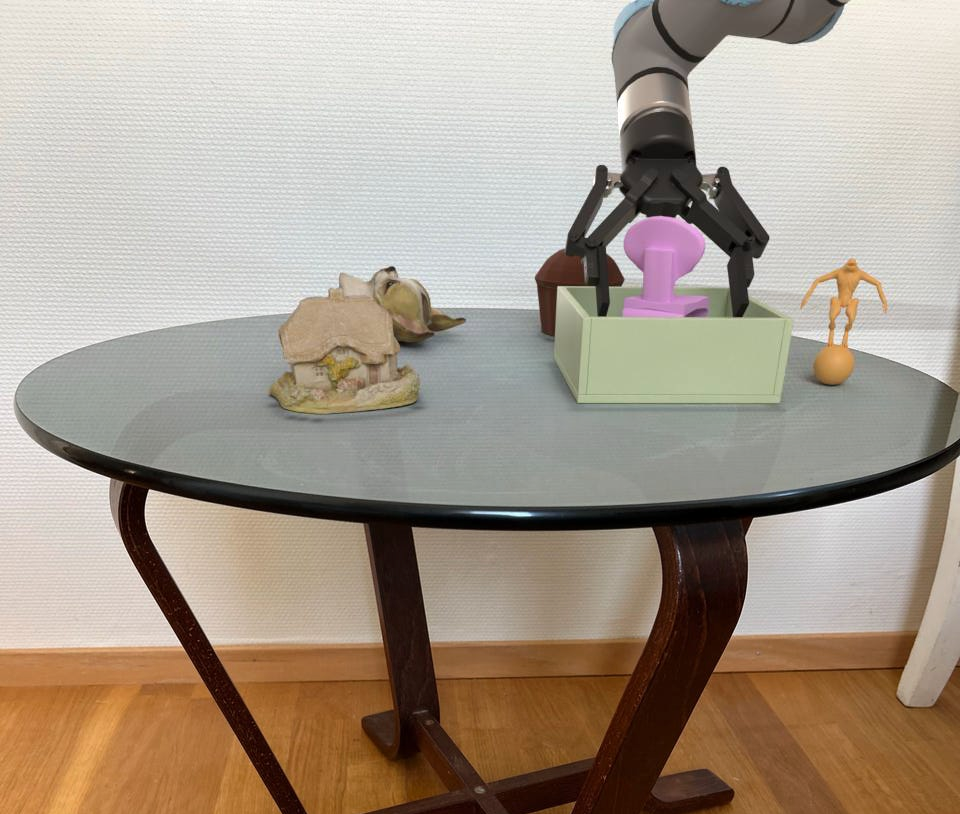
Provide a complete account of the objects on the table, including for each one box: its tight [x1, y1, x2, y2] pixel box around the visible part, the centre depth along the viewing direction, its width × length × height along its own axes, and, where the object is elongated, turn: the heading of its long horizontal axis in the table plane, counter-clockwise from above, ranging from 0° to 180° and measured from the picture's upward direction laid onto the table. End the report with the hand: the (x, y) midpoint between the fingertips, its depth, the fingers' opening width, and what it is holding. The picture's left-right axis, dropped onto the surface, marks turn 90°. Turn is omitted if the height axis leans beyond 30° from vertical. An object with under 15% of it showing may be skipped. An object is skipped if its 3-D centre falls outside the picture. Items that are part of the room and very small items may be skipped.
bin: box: [553, 286, 795, 405], centre depth 96 cm, size 20×20×8 cm
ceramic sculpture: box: [338, 265, 467, 343], centre depth 112 cm, size 11×9×15 cm
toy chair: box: [622, 216, 709, 317], centre depth 93 cm, size 8×9×15 cm
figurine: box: [800, 257, 888, 386], centre depth 95 cm, size 8×6×12 cm
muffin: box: [534, 247, 625, 337], centre depth 118 cm, size 12×11×10 cm
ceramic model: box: [268, 286, 421, 415], centre depth 87 cm, size 14×11×10 cm
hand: (672, 312), depth 92 cm, fingers open, 13 cm apart
